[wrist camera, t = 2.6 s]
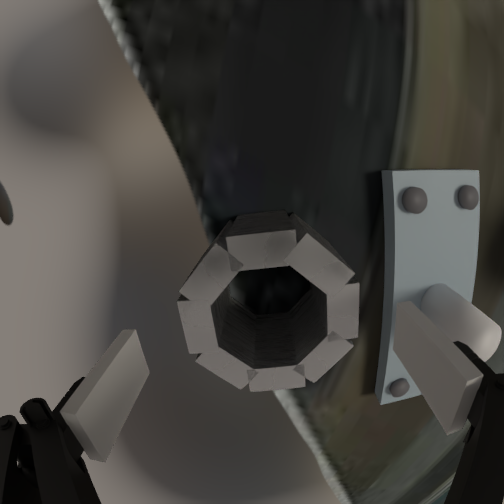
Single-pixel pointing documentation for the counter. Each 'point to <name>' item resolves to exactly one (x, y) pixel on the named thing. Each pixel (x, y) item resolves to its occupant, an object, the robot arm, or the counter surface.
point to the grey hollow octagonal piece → (273, 324)
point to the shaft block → (431, 265)
